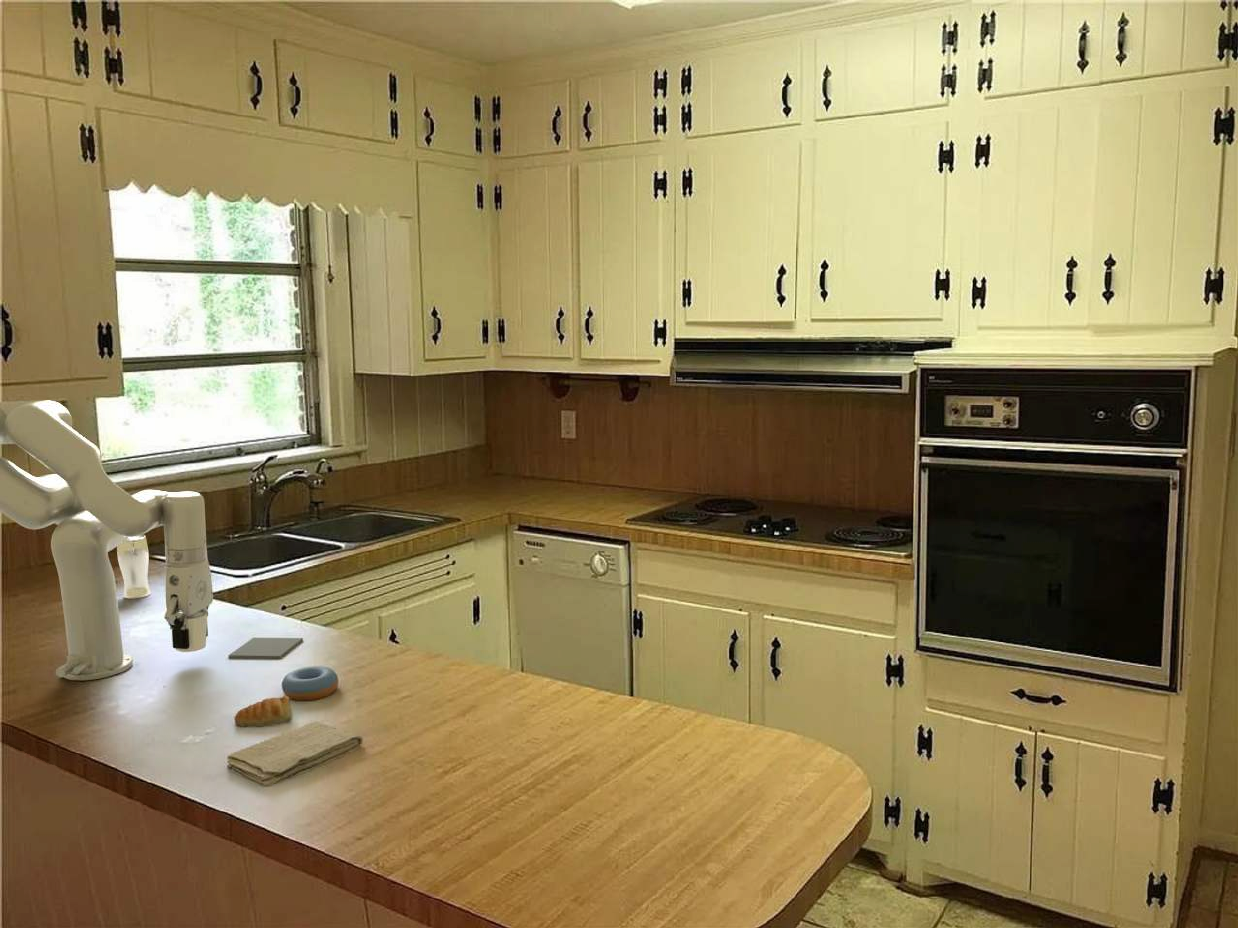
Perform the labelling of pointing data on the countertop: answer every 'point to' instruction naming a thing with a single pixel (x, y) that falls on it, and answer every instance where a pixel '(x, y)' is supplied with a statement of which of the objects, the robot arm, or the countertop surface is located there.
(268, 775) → the washcloth
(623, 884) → the countertop surface
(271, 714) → the pastry
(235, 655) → the mat
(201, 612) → the white cup
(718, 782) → the countertop surface
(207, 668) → the countertop surface
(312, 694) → the doughnut
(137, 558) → the beer glass
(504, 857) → the countertop surface
